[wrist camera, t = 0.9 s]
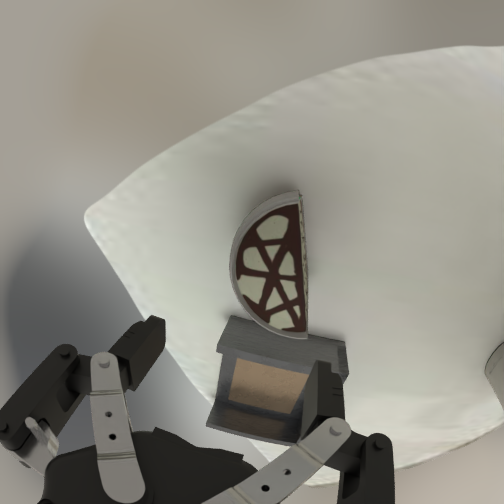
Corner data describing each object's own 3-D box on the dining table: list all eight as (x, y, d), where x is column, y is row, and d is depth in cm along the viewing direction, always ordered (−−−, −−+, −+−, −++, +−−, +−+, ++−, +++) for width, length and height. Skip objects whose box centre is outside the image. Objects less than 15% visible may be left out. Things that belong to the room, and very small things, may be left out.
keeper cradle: (344, 342, 33) (348, 373, 27) (303, 419, 39) (301, 447, 34) (231, 315, 34) (217, 344, 29) (216, 399, 41) (205, 426, 35)
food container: (242, 186, 29) (210, 202, 20) (300, 180, 27) (298, 193, 18) (256, 292, 33) (236, 344, 23) (308, 290, 31) (307, 344, 22)
